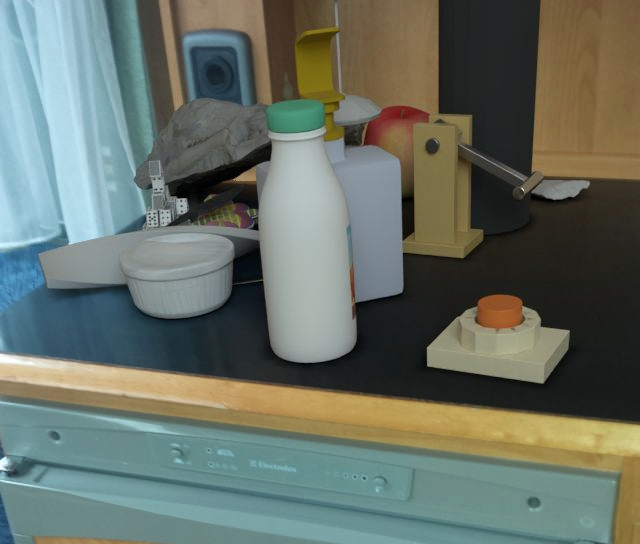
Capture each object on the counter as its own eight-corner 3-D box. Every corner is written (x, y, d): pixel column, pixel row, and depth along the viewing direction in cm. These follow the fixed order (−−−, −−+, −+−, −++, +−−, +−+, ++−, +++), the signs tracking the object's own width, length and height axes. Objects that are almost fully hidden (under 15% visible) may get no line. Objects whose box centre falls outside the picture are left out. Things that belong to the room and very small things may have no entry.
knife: (209, 290, 103) (208, 287, 103) (208, 285, 104) (208, 282, 104) (305, 278, 103) (304, 275, 103) (303, 273, 104) (303, 270, 104)
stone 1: (265, 156, 109) (252, 56, 106) (115, 198, 128) (101, 114, 126) (356, 158, 119) (346, 67, 116) (204, 197, 138) (193, 119, 136)
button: (527, 317, 83) (528, 296, 82) (513, 333, 81) (514, 313, 80) (486, 312, 85) (486, 292, 84) (470, 328, 82) (471, 308, 81)
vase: (529, 235, 109) (546, -94, 92) (435, 236, 111) (435, -86, 93) (528, 206, 117) (544, -101, 100) (441, 208, 119) (442, -94, 102)
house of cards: (215, 238, 115) (205, 169, 111) (140, 243, 116) (128, 174, 111) (222, 215, 123) (214, 148, 118) (152, 219, 123) (141, 153, 119)
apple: (348, 199, 124) (344, 112, 118) (401, 181, 129) (399, 97, 123) (405, 213, 118) (403, 122, 112) (458, 193, 123) (459, 105, 117)
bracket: (483, 240, 109) (486, 114, 101) (463, 258, 105) (465, 128, 97) (423, 235, 112) (422, 111, 104) (401, 252, 108) (398, 125, 100)
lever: (537, 191, 103) (548, 169, 102) (519, 208, 99) (529, 186, 97) (437, 136, 105) (446, 113, 103) (415, 150, 101) (424, 128, 99)
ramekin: (234, 276, 105) (228, 225, 102) (246, 315, 96) (240, 260, 93) (127, 290, 104) (117, 239, 101) (128, 331, 95) (118, 276, 92)
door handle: (303, 255, 106) (290, 264, 110) (294, 206, 105) (282, 216, 110) (49, 293, 99) (47, 300, 103) (37, 240, 98) (36, 249, 103)
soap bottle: (286, 318, 94) (260, 41, 81) (266, 295, 100) (238, 31, 86) (406, 295, 97) (400, 22, 83) (380, 274, 102) (371, 14, 89)
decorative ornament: (272, 233, 108) (181, 254, 108) (275, 252, 110) (186, 273, 109) (250, 181, 121) (169, 200, 120) (253, 199, 122) (173, 217, 122)
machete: (247, 186, 112) (250, 192, 113) (237, 177, 114) (239, 182, 115) (133, 257, 111) (136, 262, 112) (125, 246, 113) (128, 251, 114)
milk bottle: (350, 366, 85) (335, 113, 74) (262, 365, 87) (234, 117, 75) (363, 329, 91) (351, 91, 80) (280, 329, 93) (257, 95, 81)
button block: (568, 349, 85) (571, 309, 83) (543, 383, 80) (545, 342, 78) (457, 334, 89) (457, 296, 87) (426, 366, 84) (426, 327, 82)
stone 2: (522, 189, 122) (523, 172, 121) (584, 185, 122) (586, 168, 120) (528, 208, 118) (529, 191, 117) (592, 203, 118) (594, 186, 116)
